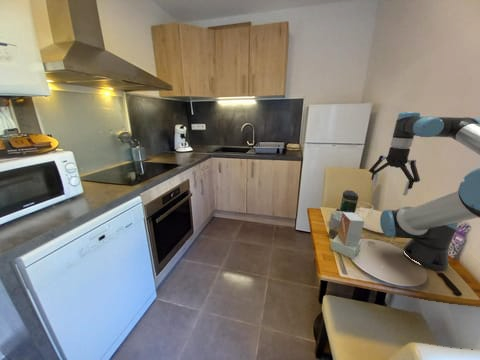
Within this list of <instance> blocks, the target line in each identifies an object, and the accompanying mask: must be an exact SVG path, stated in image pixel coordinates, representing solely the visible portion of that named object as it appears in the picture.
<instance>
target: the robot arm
mask: <svg viewBox="0 0 480 360" xmlns="http://www.w3.org/2000/svg"><path fill="white" fill-rule="evenodd" d="M395 121H396V122H395V127H394V130H393V133H392V138H391V142H390V147H389V150H388V153H387V156H385V155H384V154H382V155H379V158H378V160H377V161H376V162H375V163H374V164H373V165H372V166H371V167H370V168H369V169H368V172H369V173H371V178H370V179H371V180H372V183H371V187H372V188H375V187H376V185H377V181H378V176H379V172H381V171H383V170H384V169H385V168H387V167H388V166H389V167H393V168H397V169H399V168H400V170H401V171H402V172H403V174H404V175H405V177H406V178H407V180H408V181H407V182H406V184H405V186H404V187H405V188H404V191H403V194H402V195H403V196H408V194H409V191H410V190H412V189H413V186H414V184H415V183H419V182H420V181H421V178H420V174H419V172H418V168H417V165H416V163H417V160H416V159H408V158H409V155H410V151H411V149H410V148H412V144H413V141H414V137H420V138H433V137H434V138H451V139H454V140H455V141H456V142H458V143H460V144H462V146H465V147H466V148H467V149H469V150H471V151H472V152H474V153H475V154H477V155H479V156H480V118H476V117H469V116H468V117H466V116H465V117H457V116H456V117H448V116H447V117H446V116H429V115H428V116H421V112H419V111H401V112H400V113H398V115H397V118H396V120H395ZM383 161H386V162H385V163H384V164H383V165H381V166H379V165H380V164H381V163H383ZM407 163H408V165H409V166H410V171H411V173H410V171H409V169H408V166H407V165H406V164H407ZM378 166H379V167H378ZM478 218H479V219H480V167H478V168H476V169H473V170H471V171H470V172H468V173H467V174H466V175H465V176H464V177H463V180H462V181H461V182H460V183H459V185H458V188H457V190H456V191H454V192H452V193H451V192H450V193H449V194H446V195H443V196H441V197H439V198H436V199H433V200H430V201H428V202H425V203H423V204H420V205H417V206H414V207H413V206H404V207H401V208H398V209H393V210H392V209H384V210H383V211H382V212H381V214H380V219H379V223H380V228H381V231H382V233H383V234H384V235H385V236H386V237H391V238H399V239H400V238H401V239H410V240H409V241H408V242H407V243H406V244H405V245H404V247H403V249H402V251H403V250H404V251H405V253H406V254H407V255H408V256H409V257H410V258H411V259H413V260H415V261H417V262H419V263H420V264H421V265H422V266H423V267H422V266H421V267H422V268H426V269H428V270H432V271H433V270H434V271H438V272H439V271H445V270H447V269H448V266H449V254H448V250H449V248H450V245H451V243H452V241H453V239H454V236H455V234H456V232H457V230H458V228H457V227H458V225H459V223H460V222H465V221H468V220H474V219H478Z"/></svg>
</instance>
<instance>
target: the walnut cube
mask: <svg viewBox="0 0 480 360" xmlns="http://www.w3.org/2000/svg"><path fill="white" fill-rule="evenodd" d="M338 231H339V227H337V226H334V225H333V226H332V227H330V228H329V229H328V235H327V237H328V238H330V239H332V240H333V239H334V238H335V237H336V236H337V235H338Z"/></svg>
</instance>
